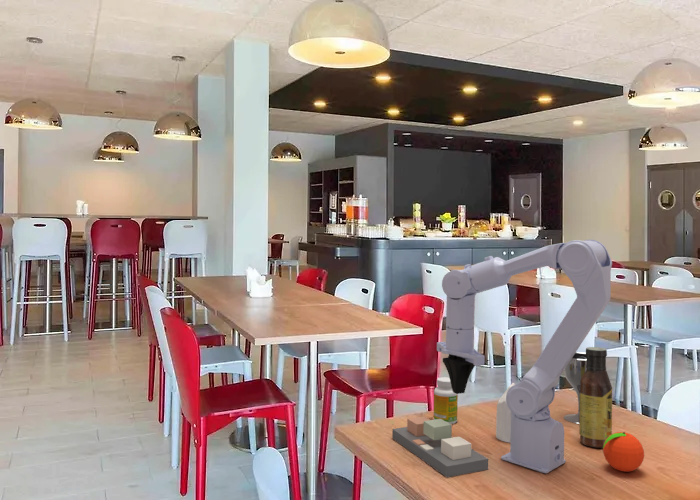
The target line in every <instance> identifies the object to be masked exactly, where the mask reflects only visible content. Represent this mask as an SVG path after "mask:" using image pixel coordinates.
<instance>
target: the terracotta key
mask: <svg viewBox="0 0 700 500" xmlns="http://www.w3.org/2000/svg"><path fill="white" fill-rule="evenodd" d="M406 420H407V423H406V425H407V426H406V427H407V430H408V431H409V432H411V433H412V434H414V435H415V436H417V437H418V436H424V435H425V434H423V428H424V421H428V420H430V419H429V418H427V416H424V415H423V416H417V417H416V416H415V417H409V418H406Z"/></svg>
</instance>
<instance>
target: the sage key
mask: <svg viewBox="0 0 700 500" xmlns="http://www.w3.org/2000/svg"><path fill="white" fill-rule="evenodd" d="M452 427H453V424H449V423H448V422H446V421H444V420H442V419H435V420H434V419H429V420H428V421H424V428H423V434H425V435H427V436H428V437H430V438H431V439H433V440H439V439H445V438H451V437H453V436H452V435H453V433H452Z"/></svg>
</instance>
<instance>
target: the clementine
mask: <svg viewBox="0 0 700 500" xmlns="http://www.w3.org/2000/svg"><path fill="white" fill-rule="evenodd" d="M602 450H603V451H602V452H603V457H604V459H605V460H606V462H607V463H608V465H610V466H611V467H612V468H613V469H615V470H617V471H620V472H629V473H630V472H633V471H635V470H637V469H638V468H640V467H641V465H642V464H643V462H644V459H645V450H644V448H643V444H642V443H641V442H640V440H639V439H638V438H637V437H635V436H634V435H633V434H631V433H628V432H626V431H617V432H614V433H612V435H610V436H609V437H608V438H607V439H606V440H605V442H604V446H603V448H602Z"/></svg>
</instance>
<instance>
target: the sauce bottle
mask: <svg viewBox="0 0 700 500" xmlns="http://www.w3.org/2000/svg"><path fill="white" fill-rule="evenodd" d="M585 353H586V356H587V365H586V368H587V370H586V372H585V373H584V375H583V376H582V378H581V381H580V414H579V424H578V425H579V428H578V429H579V432H578V433H579V441H580V443H582V445H585V446H586V447H589V448H595V449H596V448H597V449H599V448H600V449H603V446H604V442H605V440H606V439H607V438H608V437H609V436H610V435H612V434H613V430H612V429H613V386H612V383H611V380H610V377H609V374H608V371H607V364H606V362H607V356H608V350H607V349H606V348H604V347H597V346H589V347H586V348H585Z"/></svg>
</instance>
